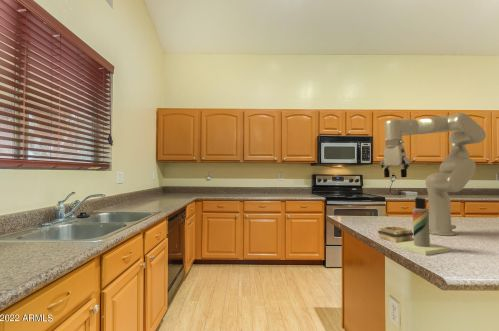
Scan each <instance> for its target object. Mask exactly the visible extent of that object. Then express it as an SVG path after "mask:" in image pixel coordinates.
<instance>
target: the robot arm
mask: <svg viewBox="0 0 499 331" xmlns="http://www.w3.org/2000/svg"><path fill="white" fill-rule="evenodd" d="M449 132H451V133H449ZM437 133H449V136H448V142H449V144H450V152H449V154H448V155H447V156H446V157H445V158H444V160H443V161H442V162H441V164H440V165H439V172H435V173H430V174H429V175H428V176H427V177H426V178H425V187H426V190H427V196H428V197H427V198H428V210H429V234H430V235H431V234H432V235H434V236H435V235H437V236H455V235H456V231H453V230H454V229H457V225H456V224H452V213H451V212H452V208H451V206H452V204H451V198H450V194H449V192H450V193H459V192H460V191H462V190H463V189H464V188H465V187H466V185H467V184H468V182H469V181H470V180H471V178H473V176H474V175H475V172H476V167H477V166H476V165H477V164H476V162H475V161H474V160H473V159H472V158H470V152H469V150H468V148H467V146H466V145H474V144H480V143H482V142H483V141H485V139H486V137H487V136H486V135H487V133H486V131H485V129H484V128H483V127H482V126H481V125H480V124H479V123H477V121H475V120H474V119H473V118H472V116H471V117H470V116H469V115H467V114H466V113H463V112H458V113H454V114H451V115H441V116H429V117H424V118H419V119H414V118H405V119H399V118H398V119H394V118H393V119H389V120H386V121H385V122H384V139H385V147H384V150H383V159H382V160H381V161H379V165H380V167H381V168H382V170H383V173H384V174H383V175H384V178H390V176H391V175H390V167H397V166H399V167H400V168H401V169H400V177H401V178H407V177H408V175H407V174H408V171H407V170H408V168H409V167H410V164H411V162H412V160H411V159H409V158H408V157H407V154H406V149H405V146H404V145H403V144H404V143H405V141H404V140H403V136H413V135H414V136H415V135H427V134H437Z"/></svg>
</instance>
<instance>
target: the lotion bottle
mask: <svg viewBox="0 0 499 331" xmlns="http://www.w3.org/2000/svg"><path fill="white" fill-rule="evenodd" d="M426 200H427V199H426V198H425V197H419V196H417V197H415V198H414V206H415V207H414V208H413V209H412V225H413V226H412V228H413V229H412V233H413V241H414V245H416V246H421V247H429V246H430V243H431V240H430V238H431V236H430V235H431V234H430V233H429V229H430V227H429V208H428V209H427V204H426V203H427V202H426Z"/></svg>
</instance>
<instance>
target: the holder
mask: <svg viewBox="0 0 499 331" xmlns="http://www.w3.org/2000/svg"><path fill="white" fill-rule="evenodd" d="M377 233H378V238H379V239H382V240H386V241H389V242H392V243H393V242H394V243H399V242H407V241H413V236H414V233H413V229H409V228H406V227H400V226H384V227H383V226H381V227H378V230H377Z"/></svg>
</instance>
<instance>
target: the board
mask: <svg viewBox="0 0 499 331" xmlns="http://www.w3.org/2000/svg"><path fill="white" fill-rule="evenodd" d="M394 247H395V248H399V249H402V250H405V251H409V252H412V253H413V252H414V253H416V254H419V255H423V256H429V255H430V256H431V255H436V254H442V253H443V254H444V253H448V252H449V253H450V252H451V248H450V247H449V246H445V245H442V244H441V245H440V244H436V243H431V242H430V246H429V247H421V246H416V245H414V240H411V241H404V242H394Z"/></svg>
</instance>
